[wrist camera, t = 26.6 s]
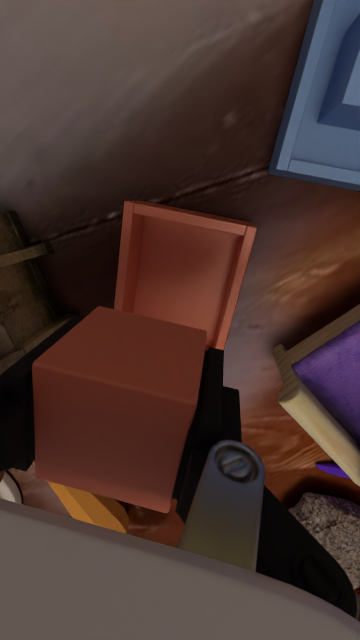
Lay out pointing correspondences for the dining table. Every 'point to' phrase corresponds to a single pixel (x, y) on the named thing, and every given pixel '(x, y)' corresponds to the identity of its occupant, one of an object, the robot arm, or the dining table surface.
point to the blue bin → (318, 107)
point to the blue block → (344, 84)
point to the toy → (333, 470)
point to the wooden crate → (23, 294)
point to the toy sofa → (327, 388)
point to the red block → (117, 406)
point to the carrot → (92, 507)
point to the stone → (333, 528)
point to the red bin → (182, 266)
